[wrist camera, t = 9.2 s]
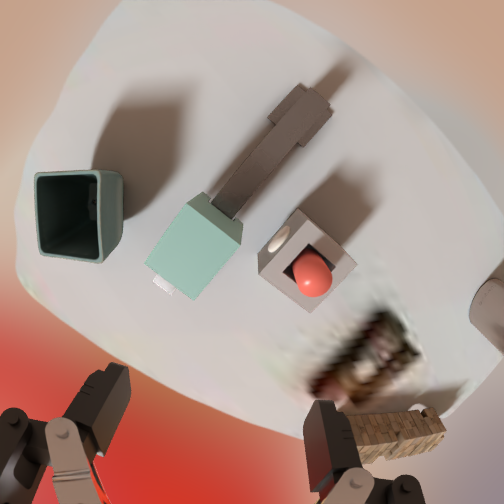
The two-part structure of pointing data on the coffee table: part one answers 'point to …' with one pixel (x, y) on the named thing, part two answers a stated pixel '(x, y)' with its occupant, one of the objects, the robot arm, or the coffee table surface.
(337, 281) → the cabinet
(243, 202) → the handrail
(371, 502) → the robot arm
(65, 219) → the flower pot
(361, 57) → the coffee table surface
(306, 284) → the button
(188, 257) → the carriage
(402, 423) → the block tower
